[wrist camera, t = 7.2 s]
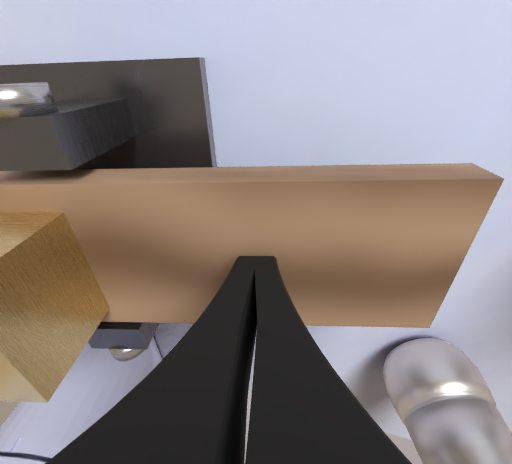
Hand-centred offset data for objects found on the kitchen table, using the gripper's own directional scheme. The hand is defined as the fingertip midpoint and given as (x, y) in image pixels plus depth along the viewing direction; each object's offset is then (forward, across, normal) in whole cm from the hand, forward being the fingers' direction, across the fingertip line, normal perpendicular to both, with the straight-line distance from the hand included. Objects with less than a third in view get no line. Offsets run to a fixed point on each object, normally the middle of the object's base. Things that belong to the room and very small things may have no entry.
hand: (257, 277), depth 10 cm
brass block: (+1, +9, 0) cm, 9 cm away
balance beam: (+5, +7, 0) cm, 9 cm away
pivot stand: (+6, +7, 0) cm, 10 cm away
